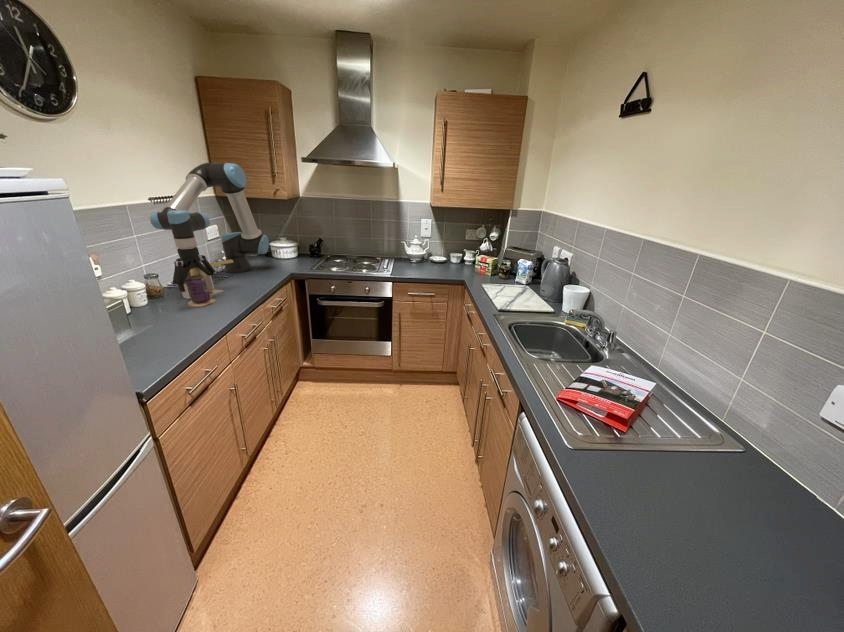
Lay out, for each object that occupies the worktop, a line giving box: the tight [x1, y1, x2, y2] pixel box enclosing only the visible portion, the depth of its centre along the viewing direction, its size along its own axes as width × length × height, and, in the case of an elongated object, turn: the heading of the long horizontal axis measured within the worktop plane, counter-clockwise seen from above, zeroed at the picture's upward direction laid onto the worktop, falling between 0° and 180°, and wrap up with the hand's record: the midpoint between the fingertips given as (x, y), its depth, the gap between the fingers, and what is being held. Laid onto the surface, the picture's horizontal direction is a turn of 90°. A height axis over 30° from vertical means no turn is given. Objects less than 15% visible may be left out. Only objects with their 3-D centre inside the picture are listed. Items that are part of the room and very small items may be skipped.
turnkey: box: [190, 259, 233, 292], centre depth 163 cm, size 3×20×14 cm, turn 143°
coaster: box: [187, 297, 216, 308], centre depth 151 cm, size 11×11×1 cm
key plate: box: [189, 288, 225, 299], centre depth 161 cm, size 12×12×1 cm
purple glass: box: [187, 275, 210, 303], centre depth 148 cm, size 7×7×12 cm
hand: (199, 293), depth 149 cm, fingers open, 13 cm apart
